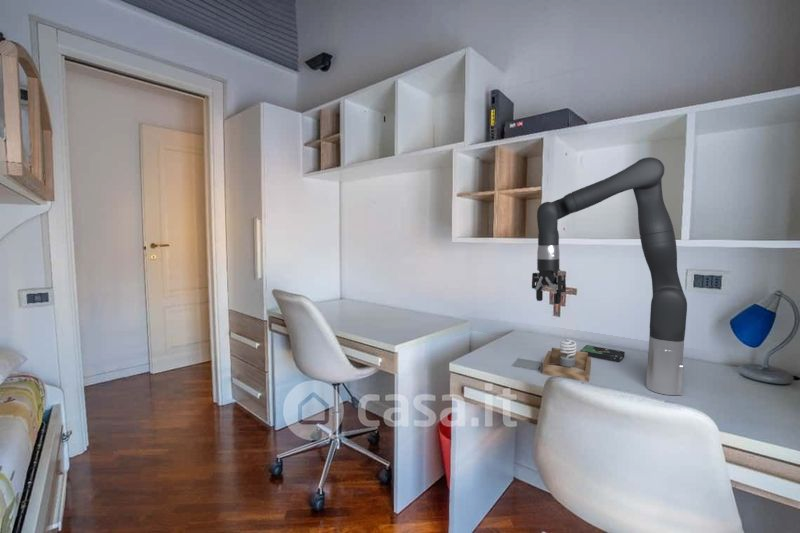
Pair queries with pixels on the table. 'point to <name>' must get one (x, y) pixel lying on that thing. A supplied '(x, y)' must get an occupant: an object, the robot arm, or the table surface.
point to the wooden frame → (571, 373)
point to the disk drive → (604, 353)
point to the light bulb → (568, 359)
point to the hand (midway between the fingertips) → (548, 302)
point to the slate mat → (527, 364)
